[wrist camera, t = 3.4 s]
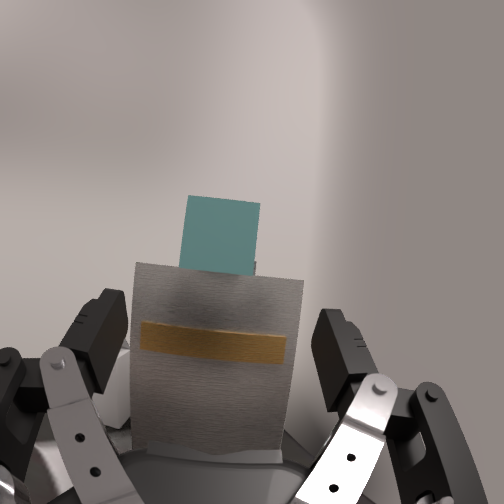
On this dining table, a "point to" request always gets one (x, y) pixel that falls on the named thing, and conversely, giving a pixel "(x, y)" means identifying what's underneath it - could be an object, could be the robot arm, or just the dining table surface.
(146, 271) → the tall grey box
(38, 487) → the dining table surface
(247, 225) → the teal tapered block
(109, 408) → the milk carton
